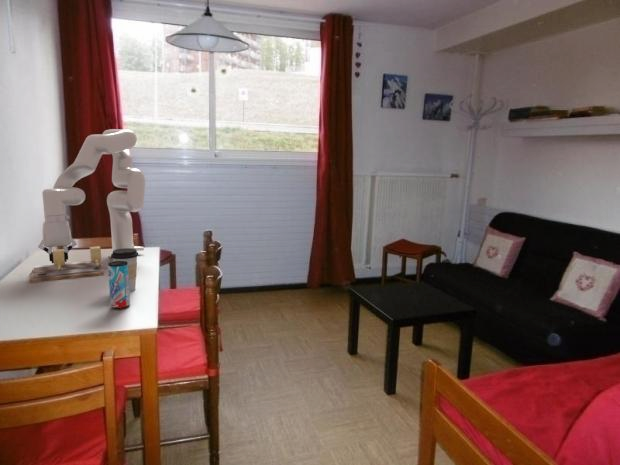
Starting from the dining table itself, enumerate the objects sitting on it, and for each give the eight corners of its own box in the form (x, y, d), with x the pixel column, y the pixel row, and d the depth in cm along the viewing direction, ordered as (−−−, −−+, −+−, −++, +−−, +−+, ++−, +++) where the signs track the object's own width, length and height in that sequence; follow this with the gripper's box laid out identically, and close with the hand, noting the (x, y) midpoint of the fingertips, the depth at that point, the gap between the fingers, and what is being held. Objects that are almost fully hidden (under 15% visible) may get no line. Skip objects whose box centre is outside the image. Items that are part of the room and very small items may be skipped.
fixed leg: (101, 261, 193) (99, 246, 191) (102, 267, 184) (101, 251, 182) (90, 262, 191) (89, 247, 190) (92, 268, 182) (91, 252, 181)
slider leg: (65, 264, 186) (63, 249, 185) (65, 270, 177) (63, 254, 176) (54, 265, 184) (52, 249, 183) (53, 272, 175) (52, 255, 174)
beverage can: (108, 306, 145) (105, 262, 142) (126, 302, 149) (123, 260, 147) (115, 311, 141) (112, 266, 138) (133, 307, 145) (130, 263, 142)
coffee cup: (123, 295, 156) (121, 254, 153) (107, 290, 161) (104, 251, 158) (145, 289, 164) (143, 250, 161) (129, 284, 169) (127, 246, 166)
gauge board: (101, 265, 195) (100, 258, 194) (103, 274, 181) (103, 267, 181) (32, 272, 182) (31, 265, 182) (29, 282, 169) (28, 274, 168)
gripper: (78, 216, 187) (81, 258, 190) (31, 218, 179) (36, 262, 182) (78, 219, 181) (82, 262, 184) (30, 221, 172) (35, 266, 176)
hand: (59, 261), depth 183 cm, fingers closed on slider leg, 4 cm apart
